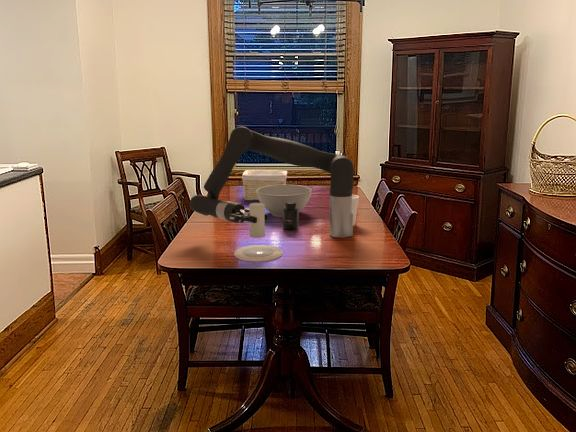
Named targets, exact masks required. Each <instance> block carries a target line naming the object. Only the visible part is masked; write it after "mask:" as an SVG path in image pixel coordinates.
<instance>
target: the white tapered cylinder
mask: <svg viewBox="0 0 576 432" xmlns="http://www.w3.org/2000/svg"><path fill="white" fill-rule="evenodd" d="M248 209H249V216H254V217H257V223H252V222H249V237H250V238H252V239H253V238H254V239H259V238H260V239H261V238H264V237H265V236H266V227H265V226H266V225H265V223H266V222H265V221H266V220H265V210H266V209H265V207H264V204H263V203H260V202H251V203H249V205H248Z"/></svg>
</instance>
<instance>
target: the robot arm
mask: <svg viewBox="0 0 576 432" xmlns="http://www.w3.org/2000/svg"><path fill="white" fill-rule="evenodd" d="M229 134H230V135H229V139H228V141H227V144H226V146H225V148H224V151H223V153H222V155H221V157H220V159H219V160H218V162H217V163H216V165H215V167H214V168H213V170H212V171H211V173H210V174H209V176H208V177H207V180H206V181H205V183H204V184H203V188H204V191H206V192H207V194H206V195H202V194H196V195H193V196H192V197H191V198H190V200H189V208H190V210H192V211H193V212H195V213H197V214H200V215H203V216H211V217H214V218H217V219H221V220H222V221H226V222H230V223H235V224H239V223H240V224H243V223H250V222H252V223H257V217H254V216H249V208H245V206H244V205H243V204H242V203H239V202H233V201H230V200H222V199H219V197H220V193H221V192H222V190H223V188H224V187H225V185H226V184H227V181H228V179H229V178H230V176H231V173H232V172H233V169H234V167H235V165H236V163H237V162H238V160H239V159H240V158H241V156H242V155H243V154H244V153H245V151H251V152H255V153H259V154H263V155H265V156H267V157H270V158H271V159H275V160H277V161H280V162H282V163H285V164H289V165H293V166H295V167H303V168H304V167H305V168H314V169H319V170H322V171H324V172H327V173H328V174H329V173H330V185H329V186H330V187H329V235H330V237H333V238H350V237H353V236H354V235H353V232H354V230H353V229H354V226H353V214H352V194H353V190H354V177H355V176H354V169H355V167H354V163H353V162H352V160H351V159H350V158H349V157H348V156H346V155H343V154H337V153H331V152H326V151H323V150H319V149H316V148H314V147H312V146H309V145H306V144H303V143H300V142H298V141H293V140H289V139H287V138H286V139H285V138H281V137H274V136H273V137H272V136H268V135H263V134H261V133H259V132H256V131H253V130H251V129H249V128H248V127H246V126H237V127H235V128H234V129H232V130H231V133H229ZM267 220H269V214H268V213H265V221H267Z"/></svg>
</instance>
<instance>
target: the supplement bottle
mask: <svg viewBox="0 0 576 432" xmlns="http://www.w3.org/2000/svg"><path fill="white" fill-rule="evenodd" d="M285 207H286V208H284V209H283V217H282V229H283V230H284V231H290V232H293V231H296V230H299V212H300V211H298V209H297V208H296V202H294V201H287V202H285Z"/></svg>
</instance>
